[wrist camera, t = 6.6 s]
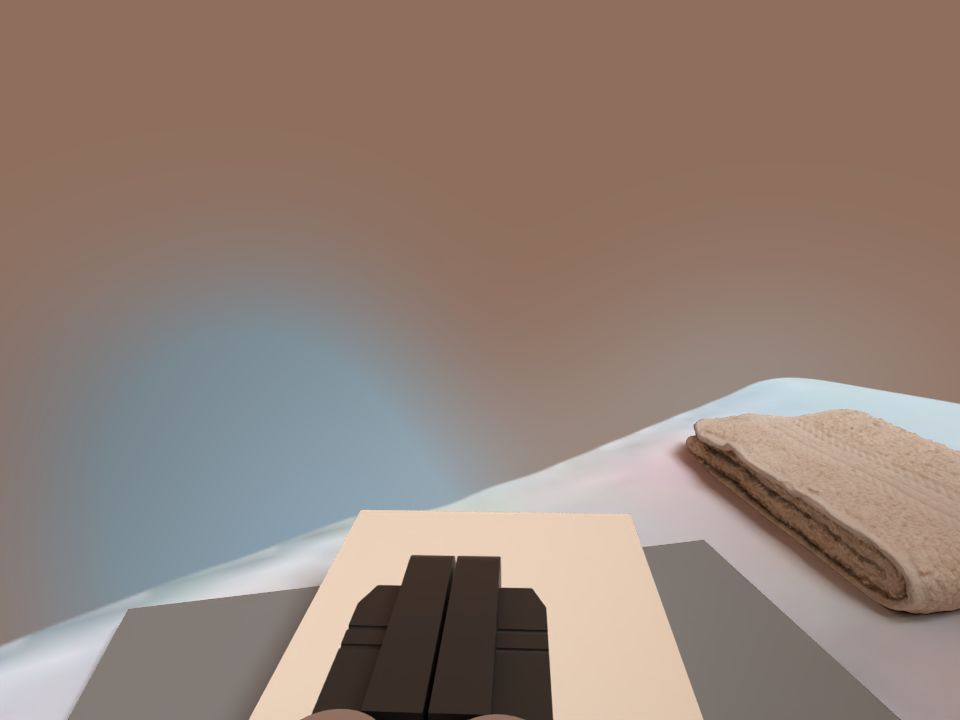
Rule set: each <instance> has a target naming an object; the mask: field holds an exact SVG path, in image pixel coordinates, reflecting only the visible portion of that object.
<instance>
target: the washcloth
mask: <svg viewBox="0 0 960 720" xmlns="http://www.w3.org/2000/svg"><path fill="white" fill-rule="evenodd" d="M694 430H695V433H696V436H690V437H688V438H687V440H686V445H687V446H688V447H689V449H690V450H691V451H692V452H693V454H696V455H697V461H698V462H699V463H700V464H703V465H704V468H706V469H708V471H709V473H710V474H712V476H714V477H715V478H716V479H718V480H719V481H720V482H721V483H723V484H724V485H725V486H726V487H728V488H729V489H730V490H731V491H733V492H734V493H736V494H737V495H738V496H739V497H741V498H742V499H743V500H745V501H746V502H747V503H748V504H750V505H751V506H752V507H753V508H755V509H756V510H757V511H758V512H760V513H761V514H762V515H764V516H765V517H766V518H767V519H769V520H770V521H771V522H773V523H774V524H775V525H776V526H778V527H779V528H781V529H782V530H783V531H784V532H786V533H787V534H788V535H790V536H791V537H792V538H794V539H795V540H796V541H798V542H799V543H800V544H801V545H803V546H805V547H806V548H807V549H808V550H810V551H811V552H813V553H814V554H815V555H816V556H817V557H818V558H820V559H821V560H823V561H824V562H825V563H826V564H828V565H829V566H830V567H831V568H832V569H833V570H835V571H836V572H837V573H839V574H840V575H841V576H842V577H844V578H845V579H846V580H848V581H849V582H850V583H852V584H853V585H854V586H855V587H857V588H858V589H859V590H861V591H862V592H863V593H864V594H866V595H867V596H868V597H870V598H871V599H872V600H874V601H876V602H877V603H879V604H881V605H883V606H885V607H887V608H889V609H892V610H898V611H902V610H903V611H907V612H910V613H915V614H916V613H922V614H929V613H931V612H939V611H953V610H955V609H960V451H956V450H953V449H949V448H947V447H946V446H945V445H942V444H940V443H936V442H933V441H932V440H929V439H924V438H922V437H920V436H918V435H917V434H916V433H911V432H908V431H906V430H904V429H902V428H900V427H897V426H893V425H892V424H891V423H887V422H886V421H884V420H882V419H881V418H880V419H878V418H874V417H873V416H871V415H870V414H868V413H865V412H861V411H855V410H849V409H839V410H830V411H825V412H820V413H816V414H808V415H802V416H796V417H781V416H770V415H755V414H742V415H739V416H730V417H724V418H715V419H701V420H699V421H698V422H696V423H695V424H694Z"/></svg>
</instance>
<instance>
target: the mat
mask: <svg viewBox="0 0 960 720" xmlns="http://www.w3.org/2000/svg"><path fill="white" fill-rule="evenodd" d="M642 549H643V551H644V554H645V557H646V560H647V563H648V565H649V568H650V571H651V574H652V577H653V579H654V582H655V585H656V588H657V591H658V593H659V596H660V599H661V602H662V605H663V608H664V610H665V613H666V616H667V619H668V622H669V624H670V627H671V630H672V633H673V636H674V638H675V641H676V644H677V647H678V650H679V652H680V655H681V658H682V661H683V664H684V666H685V669H686V672H687V675H688V678H689V681H690V683H691V686H692V689H693V692H694V695H695V697H696V700H697V703H698V706H699V709H700V711H701V714H702V717H703V720H901V719H899V718H898V717H897V716H896V715H895V714H894V713H893V712H892V711H891V710H890V709H888V708H887V707H886V706H885V705H884V704H883V703H882V702H881V701H880V700H879V699H878V698H876V697H875V696H874V695H873V694H872V693H871V692H870V691H869V690H868V689H867V688H865V687H864V686H863V685H862V684H861V683H860V682H859V681H858V680H857V679H856V678H854V677H853V676H852V675H851V674H850V673H849V672H848V671H847V670H846V669H845V668H844V667H842V666H841V665H840V664H839V663H838V662H837V661H836V660H835V659H834V658H833V657H831V656H830V655H829V654H828V653H827V652H826V651H825V650H824V649H823V648H822V647H820V646H819V645H818V644H817V643H816V642H815V641H814V640H813V639H812V638H811V637H810V636H808V635H807V634H806V633H805V632H804V631H803V630H802V629H801V628H800V627H799V626H797V625H796V624H795V623H794V622H793V621H792V620H791V619H790V618H789V617H788V616H786V615H785V614H784V613H783V612H782V611H781V610H780V609H779V608H778V607H777V606H776V605H774V604H773V603H772V602H771V601H770V600H769V599H768V598H767V597H766V596H765V595H763V594H762V593H761V592H760V591H759V590H758V589H757V588H756V587H755V586H754V585H752V584H751V583H750V582H749V581H748V580H747V579H746V578H745V577H744V576H743V575H742V574H740V573H739V572H738V571H737V570H736V569H735V568H734V567H733V566H732V565H731V564H729V563H728V562H727V561H726V560H725V559H724V558H723V557H722V556H721V555H720V554H718V553H717V552H716V551H715V550H714V549H713V548H712V547H711V546H710V545H709V544H708V543H706V542H705V541H704V540H700V541H692V542H683V543H675V544H667V545H658V546H650V547H642ZM319 588H320V586H317V587H308V588H300V589H292V590H283V591H275V592H267V593H258V594H250V595H242V596H233V597H225V598H217V599H208V600H200V601H192V602H183V603H175V604H167V605H158V606H150V607H142V608H133V609H128V611H127V612H126V614H125V616H124V618H123V620H122V622H121V623H120V625H119V627H118V629H117V631H116V633H115V634H114V636H113V638H112V640H111V642H110V644H109V646H108V647H107V649H106V651H105V653H104V655H103V657H102V658H101V660H100V662H99V664H98V666H97V668H96V669H95V671H94V673H93V675H92V677H91V679H90V680H89V682H88V684H87V686H86V688H85V690H84V691H83V693H82V695H81V697H80V699H79V701H78V702H77V704H76V706H75V708H74V710H73V712H72V714H71V715H70V717H69V719H68V720H249V718H250V717H251V715H252V713H253V711H254V709H255V707H256V705H257V703H258V702H259V700H260V698H261V696H262V694H263V692H264V690H265V689H266V687H267V685H268V683H269V681H270V679H271V677H272V675H273V674H274V672H275V670H276V668H277V666H278V664H279V662H280V661H281V659H282V657H283V655H284V653H285V651H286V649H287V647H288V646H289V644H290V642H291V640H292V638H293V636H294V634H295V633H296V631H297V629H298V627H299V625H300V623H301V621H302V619H303V618H304V616H305V614H306V612H307V610H308V608H309V606H310V605H311V603H312V601H313V599H314V597H315V595H316V593H317V591H318V590H319Z"/></svg>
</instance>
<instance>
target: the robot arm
mask: <svg viewBox="0 0 960 720" xmlns="http://www.w3.org/2000/svg"><path fill="white" fill-rule="evenodd" d="M301 720H553V707H552V691H551V675H550V658H549V642H548V626H547V610H546V606H545V605H544V604H543V602H542V601H541V600H540V598H539V597H538V595H537V594H536V593H535V591H534V590H533V589H532V588H501V557H500V556H458V557H457V561H456V559H455V556H440V555H411V557H410V559H409V562H408V565H407V569H406V572H405V575H404V578H403V581H402V584H401V585H377V586H376V587H375V588H374V589H373V590H372V591H371V592H370V593H368V594H367V595H366V596H365V597H364V598H363V599H362V600H361V601H360V602H358V604H357V606H356V608H355V611H354V613H353V616H352V618H351V620H350V623H349V627H348V629H347V630H346V632H345V635H344V637H343V640H342V642H341V648H339V649H338V652H337V654H336V656H335V659H334V661H333V664H332V666H331V668H330V671H329V673H328V676H327V678H326V680H325V683H324V685H323V688H322V690H321V692H320V695H319V697H318V699H317V702H316V704H315V707H314V709H313V711H312V714H311V715H309V716H307V717H305V718H303V719H301Z"/></svg>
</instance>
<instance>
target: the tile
mask: <svg viewBox="0 0 960 720" xmlns="http://www.w3.org/2000/svg"><path fill="white" fill-rule="evenodd" d="M411 555H440V556H455V559H456V561H457V557H458V556H500V557H501V588H532V589H533V590H534V591H535V593H536V594H537V595H538V597H539V598H540V600H541V601H542V602H543V604H544V605H545V606H546V610H547V626H548V642H549V658H550V675H551V691H552V707H553V720H703V717H702V714H701V711H700V709H699V706H698V703H697V700H696V697H695V695H694V692H693V689H692V686H691V683H690V681H689V678H688V675H687V672H686V669H685V666H684V664H683V661H682V658H681V655H680V652H679V650H678V647H677V644H676V641H675V638H674V636H673V633H672V630H671V627H670V624H669V622H668V619H667V616H666V613H665V610H664V608H663V605H662V602H661V599H660V596H659V593H658V591H657V588H656V585H655V582H654V579H653V577H652V574H651V571H650V568H649V565H648V563H647V560H646V557H645V554H644V551H643V549H642V546H641V543H640V540H639V537H638V534H637V532H636V529H635V526H634V523H633V520H632V518H631V515H630V514H594V513H527V512H460V511H394V510H361V511H360V513H359V515H358V517H357V519H356V520H355V522H354V524H353V526H352V528H351V530H350V532H349V534H348V535H347V537H346V539H345V541H344V543H343V545H342V547H341V548H340V550H339V552H338V554H337V556H336V558H335V560H334V562H333V563H332V565H331V567H330V569H329V571H328V573H327V575H326V576H325V578H324V580H323V582H322V584H321V586H320V588H319V590H318V591H317V593H316V595H315V597H314V599H313V601H312V603H311V605H310V606H309V608H308V610H307V612H306V614H305V616H304V618H303V619H302V621H301V623H300V625H299V627H298V629H297V631H296V633H295V634H294V636H293V638H292V640H291V642H290V644H289V646H288V647H287V649H286V651H285V653H284V655H283V657H282V659H281V661H280V662H279V664H278V666H277V668H276V670H275V672H274V674H273V675H272V677H271V679H270V681H269V683H268V685H267V687H266V689H265V690H264V692H263V694H262V696H261V698H260V700H259V702H258V703H257V705H256V707H255V709H254V711H253V713H252V715H251V717H250V718H249V720H301V719H303V718H305V717H307V716H309V715H311V714H312V711H313V709H314V707H315V704H316V702H317V699H318V697H319V695H320V692H321V690H322V688H323V685H324V683H325V680H326V678H327V676H328V673H329V671H330V668H331V666H332V664H333V661H334V659H335V656H336V654H337V652H338V649H339V648H341V642H342V640H343V637H344V635H345V632H346V630H347V629H348V627H349V623H350V620H351V618H352V616H353V613H354V611H355V608H356V606H357V604H358V602H360V601H361V600H362V599H363V598H364V597H365V596H366V595H367V594H368V593H370V592H371V591H372V590H373V589H374V588H375V587H376V586H377V585H401V584H402V581H403V578H404V575H405V572H406V569H407V565H408V562H409V559H410V557H411Z"/></svg>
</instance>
